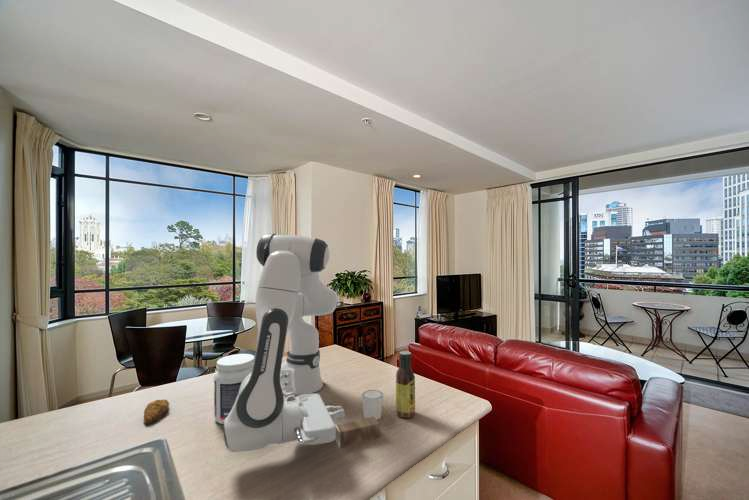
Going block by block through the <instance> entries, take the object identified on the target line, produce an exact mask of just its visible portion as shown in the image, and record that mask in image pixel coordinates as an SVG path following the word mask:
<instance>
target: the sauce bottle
mask: <svg viewBox="0 0 749 500" xmlns="http://www.w3.org/2000/svg"><path fill="white" fill-rule="evenodd" d="M398 358H399V367H398V369H397V371H396V378H395V379H396V381H395V411H396V412H395V413H396V415H397V416H398V417H400V418H404V419H410V418H413V417H414V416H415V414H416V413H415V412H416V376H415V374H414V371H413V367H412V352H411V351H407V350H403V351H402V350H401V351H399V353H398Z"/></svg>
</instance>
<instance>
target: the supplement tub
mask: <svg viewBox="0 0 749 500" xmlns="http://www.w3.org/2000/svg"><path fill="white" fill-rule="evenodd" d="M254 360H255V355H254V354H251V353H236V354H231V355H226V356H224V357H223V356H222V357H221V358H219V359H218V360H217V361H216V369H217V370H216V371H215V373H214V376H213V383H214V385H213V387H214V389H213V391H214V392H213V393H214V394H213V396H214V397H213V399H214V400H213V402H214V405H213V406H214V410H213V412H214V413H213V414H214V415H213V416H214V417H213V418H214V420H215V421H216V422H217V423H218V424H221V425H223V424H224V420H225V419H226V417H227V416H228V415H229V413H230V411H231V409H232V407H233V405H234V403H235V401H236V398H237V395H238V392H239V389H240V386H241V383H242V382H243V380H244V378H245V377H246V376H247V375H248V374H250V373H251V372H252V370H253V365H254Z"/></svg>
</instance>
